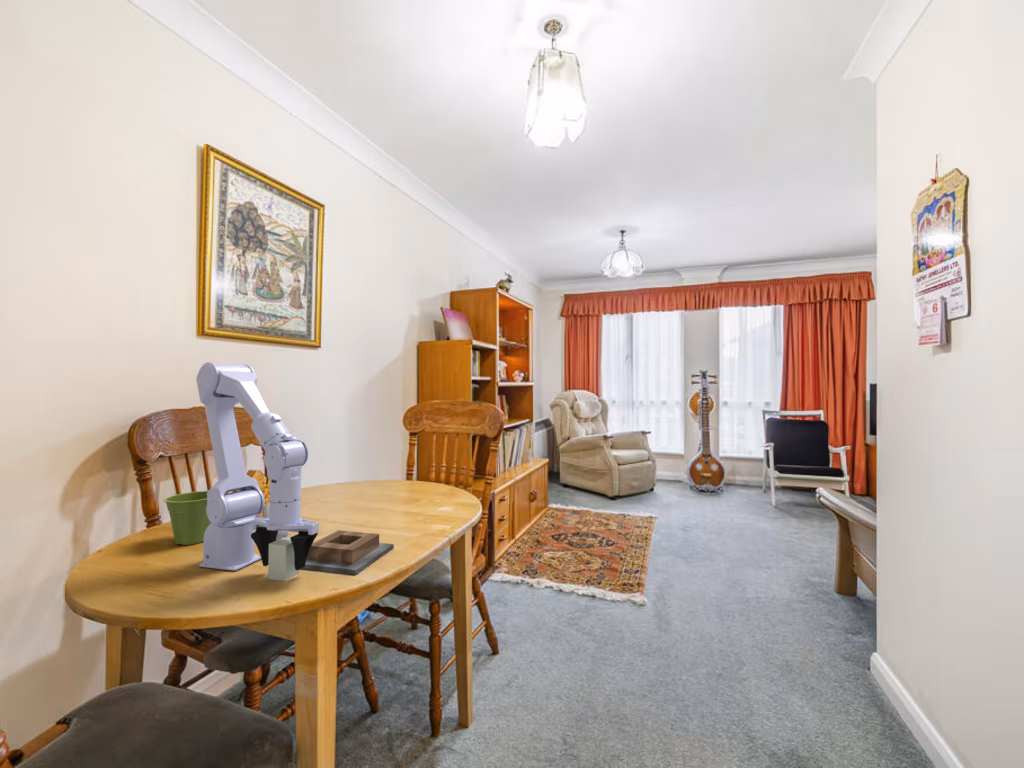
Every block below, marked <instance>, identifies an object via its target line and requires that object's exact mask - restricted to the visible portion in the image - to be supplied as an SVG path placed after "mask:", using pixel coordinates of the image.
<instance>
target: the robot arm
mask: <svg viewBox="0 0 1024 768" xmlns="http://www.w3.org/2000/svg"><path fill="white" fill-rule="evenodd" d="M195 379H196V386H197V391H198V396H199V401H200V403H201V404H203V405H204V411H205V417H206V420H207V421H206V422H207V426H208V431H209V438H210V444H211V447H212V453H213V454H212V455H213V457H214V465H215V469H216V476H217V479H218V480H217V482H216V483H215V484H213V486H211V487H210V488H209V490H207V491H208V492H207V508H206V512H207V516H208V519H209V520H210V521H211V524H210V525H209V526H208V527H207V529H206V531H205V533H204V541H202V542H203V547H202V548H203V549H202V551H203V553H202V563H200V564H199V566H198V567H201V568H207V569H217V570H223V571H224V570H226V571H233V572H234V571H239V570H240V569H242V568H245V567H247V566H249V565H251V564H253V563H255V562H258V561H259V560H261V563H262V566H263V567H268V561H269V544H270V543H272V542H274V541H276V537H277V534H278V530H279V531H288V532H291V533H292V532H293V533H297V534H295V535H293V536H291V537H289V538H290V539H291V542H292V545H293V549H294V566H295V570H299V571H300V570H301V568H303V567H305V563H306V560H307V556H308V553H309V550H310V548H311V545H312V543H314V542H315V541H316V540H315V539H316V538H317V536H318V534H319V531H320V528H319V527H320V525H319V524H320V523H319V522H316V521H311V520H308V519H304V518H302V517H301V510H302V509H301V506H302V505H301V500H302V467H303V466H304V465H305V464H307V461H308V459H309V450H308V447H307V445H306V443H305V441H303V439H301V438H300V439H299V438H297V437H296V436H293V435H292V434H291V432H290V431H289V429H288V428H287V426H286V425H285V422H284V421H283V420H282V418H281V416H280V415H279V414H277V413H274V412H271V411H270V410H269V409H268V406H267V404H266V403H265V400H264V398H263V396H262V394H261V393H260V391H259V388H258V386H257V384H258V374H256V372H255V369H254V368H253V367H252V366H251V365H249V364H230V363H229V364H228V363H227V364H226V363H214V362H210V361H209V362H205V363H204V364H202V365H201V367H200V368H199V370H198V373H197V374H196V378H195ZM237 404H240V405H241V406H242V407H243V409H244V410H245V412H246V413H247V414H248V415H249V417H250V418H251V419H252V423H251V427H250V428H251V431H252V433H253V434H254V435H255V437H256V439H257V441H259V444H260V445H261V447H262V449H264V455H263V462H264V463H263V464H264V466H265V467H266V472H267V473H266V475H267V476H266V477H267V478H268V479H269V503H270V507H269V518H264V517H263V516H262V517H259V516H260V514H262V513H263V509H264V507H265V506H266V500H265V496H264V493H263V492H262V490H261V488H260V486H259V481H258V480H257V479H255V478H253V477H251V476H249V475H248V474H247V472H246V468H245V461H244V457H243V451H242V447H241V442H240V437H239V431H238V428H237V421H236V417H235V412H234V408H235V406H236V405H237ZM255 545H256V548H257V549H258V552H259V554H256V553H255Z"/></svg>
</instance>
